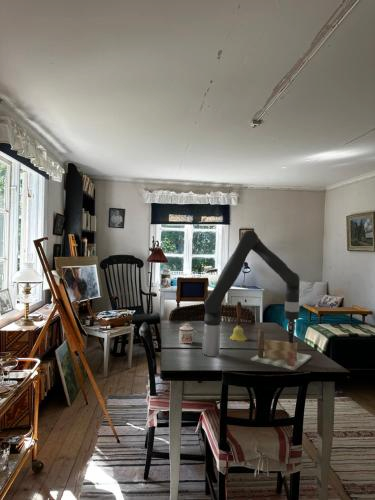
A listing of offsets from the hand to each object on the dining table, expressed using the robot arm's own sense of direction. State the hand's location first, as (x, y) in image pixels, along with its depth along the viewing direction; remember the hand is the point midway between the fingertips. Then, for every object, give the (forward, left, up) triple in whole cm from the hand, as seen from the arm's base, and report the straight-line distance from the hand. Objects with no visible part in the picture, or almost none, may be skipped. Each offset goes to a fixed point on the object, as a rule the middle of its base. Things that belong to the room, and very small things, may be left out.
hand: (291, 341), depth 187 cm
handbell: (-45, +26, -11) cm, 53 cm away
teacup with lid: (-65, -4, -11) cm, 66 cm away
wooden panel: (-5, -2, -10) cm, 11 cm away
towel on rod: (-6, +3, -11) cm, 13 cm away
